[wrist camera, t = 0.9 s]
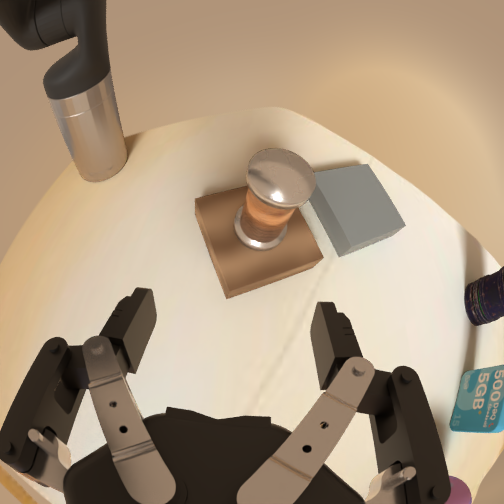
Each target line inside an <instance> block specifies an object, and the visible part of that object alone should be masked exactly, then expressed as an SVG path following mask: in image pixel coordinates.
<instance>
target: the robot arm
mask: <svg viewBox="0 0 504 504" xmlns="http://www.w3.org/2000/svg"><path fill="white" fill-rule="evenodd" d="M0 25H1V26H2V28H3V29H4V30H5V31H6V32H7V33H8V34H9V35H10V36H11V37H12V39H13V40H14V41H15V42H16V43H18V44H19V45H20V46H21V47H23V48H24V49H27V50H38V49H42V48H45V47H48V46H50V45H53V44H56V43H58V42H61V41H64V40H67V39H70V38H73V37H76V36H77V37H78V45H77V46H76V47H75V48H74V49H73V50H72V51H70V52H69V53H68V54H66V55H65V56H64V57H62V58H61V59H59V60H58V61H57V62H56V63H55V64H53V65H52V66H51V67H50V69H49V70H48V71H47V72H46V74H45V76H44V79H43V84H44V88H45V91H46V94H47V97H48V99H49V102H50V105H51V108H52V110H53V113H54V115H55V118H56V121H57V123H58V126H59V128H60V131H61V133H62V135H63V138H64V140H65V143H66V145H67V147H68V149H69V151H70V154H71V156H72V158H73V161H74V163H75V165H76V167H77V169H78V171H79V173H80V175H81V177H82V178H84V179H85V180H87V181H91V182H99V181H103V180H106V179H108V178H110V177H112V176H114V175H115V174H116V173H118V172H119V171H120V170H121V169H122V168H123V166H124V164H125V163H126V160H127V155H128V154H127V149H126V145H125V141H124V136H123V131H122V127H121V123H120V118H119V113H118V108H117V103H116V98H115V92H114V86H113V81H112V75H111V69H110V62H109V54H108V43H107V33H106V0H0ZM156 318H157V314H156V308H155V302H154V297H153V291H152V289H147V288H139V287H137V288H136V289H135V290H134V292H133V294H132V295H131V297H130V296H126V297H125V298H123V299H122V300H121V301H120V302H119V303H118V304H117V306H116V308H115V310H114V311H113V312H112V314H111V316H110V317H109V319H108V321H107V322H106V324H105V326H104V327H103V329H102V331H101V332H100V334H99V336H94V337H91V338H89V339H88V340H87V341H86V342H85V343H84V344H83V345H79V346H68V344H67V342H66V341H65V339H63V338H61V337H54V338H51V339H49V340H48V341H47V342H46V343H45V344H44V345H43V347H42V349H41V350H40V352H39V354H38V355H37V357H36V359H35V361H34V362H33V364H32V366H31V368H30V370H29V371H28V373H27V375H26V377H25V379H24V381H23V383H22V385H21V387H20V389H19V391H18V393H17V395H16V397H15V399H14V401H13V403H12V405H11V407H10V410H9V412H8V414H7V416H6V419H5V421H4V423H3V426H2V428H1V431H0V459H1V460H2V461H3V462H5V463H6V464H8V465H9V466H10V467H12V468H13V469H14V470H15V471H17V472H18V473H20V474H22V475H23V476H25V477H26V478H28V479H30V480H32V481H34V482H36V483H38V484H40V485H42V486H44V487H51V488H53V489H55V490H58V491H60V492H62V493H64V497H65V500H66V504H445V503H446V502H447V500H448V499H449V497H450V494H451V484H450V479H449V475H448V470H447V466H446V462H445V458H444V454H443V450H442V446H441V442H440V439H439V435H438V432H437V429H436V425H435V422H434V419H433V416H432V413H431V410H430V407H429V404H428V401H427V398H426V395H425V392H424V390H423V387H422V384H421V381H420V379H419V376H418V374H417V373H416V372H415V371H414V370H413V369H412V368H410V367H407V366H399V367H397V368H395V369H394V370H393V372H392V373H390V372H385V371H380V370H376V369H374V367H373V365H372V363H371V362H370V361H368V360H367V359H365V358H363V356H362V353H361V350H360V347H359V344H358V342H357V339H356V336H355V335H354V334H355V333H354V331H353V329H352V325H351V323H350V320H349V319H348V318H347V316H346V315H345V314H344V313H337V310H336V307H335V304H334V303H333V302H318V303H317V305H316V309H315V313H314V317H313V320H312V324H311V331H310V334H311V341H312V346H313V352H314V357H315V362H316V368H317V373H318V379H319V385H320V390H326V392H323V394H322V395H321V396H320V397H319V399H318V400H317V402H316V403H315V404H314V406H313V407H312V408H311V410H310V411H309V412H308V414H307V415H306V416H305V417H304V419H303V420H302V421H301V422H300V424H299V425H298V426H297V427H296V429H295V430H294V431H293V432H291V431H289V430H287V429H286V428H283V427H281V426H279V425H276V424H272V423H271V417H262V416H240V417H233V418H226V419H214V418H211V417H208V416H205V415H203V414H200V413H197V412H194V411H191V410H184V409H178V408H172V407H167V409H166V413H161V414H156V415H152V416H149V417H146V418H143V416H142V414H141V412H140V410H139V408H138V406H137V403H136V401H135V399H134V397H133V395H132V392H131V390H130V388H129V385H128V383H127V381H126V375H127V373H128V372H129V373H133V374H136V371H137V369H138V366H139V364H140V361H141V358H142V356H143V353H144V351H145V348H146V346H147V344H148V341H149V339H150V336H151V334H152V331H153V329H154V327H155V324H156ZM58 382H59V383H58ZM86 389H89V391H90V394H91V397H92V401H93V404H94V407H95V410H96V413H97V416H98V419H99V422H100V425H101V428H102V430H103V433H104V436H105V438H106V441H107V444H105V445H103V446H102V447H100V448H99V449H97V450H96V451H94V452H92V453H91V454H89V455H88V456H86V457H84V458H83V459H81V460H79V461H78V462H76V463H74V464H73V465H72V466H71V454H70V450H69V448H68V447H67V442H68V439H69V436H70V433H71V430H72V427H73V424H74V421H75V418H76V415H77V412H78V410H79V407H80V404H81V402H82V399H83V396H84V394H85V391H86ZM356 412H359V413H365V414H369V418H370V423H371V429H372V434H373V440H374V446H375V452H376V459H377V466H378V473H379V474H378V475H377V476H375V477H374V478H373V479H372V481H371V483H370V486H369V494H368V496H367V498H366V499H365V500H364V499H363V498H362V497H361V496H360V495H359V494H358V493H357V492H356V491H355V490H354V489H352V488H351V487H350V486H349V485H348V484H347V483H346V482H344V481H343V480H342V479H341V478H340V477H339V476H338V475H337V474H335V473H334V472H333V471H332V470H331V469H330V468H329V467H328V466H327V465H326V464H325V463H324V462H325V461H326V459H327V458H328V456H329V455H330V453H331V452H332V450H333V449H334V447H335V446H336V444H337V443H338V441H339V440H340V438H341V436H342V435H343V433H344V432H345V430H346V428H347V427H348V425H349V423H350V422H351V420H352V418H353V416H354V415H355V413H356Z"/></svg>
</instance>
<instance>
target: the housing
mask: <svg viewBox="0 0 504 504" xmlns="http://www.w3.org/2000/svg"><path fill="white" fill-rule="evenodd" d="M246 181H247V185H248V187H249V188H248V192H247V195H246V199H245V202H244V205H243V206H241V207H240V208H239V210H238V211H237V213H236V216H235V220H234V232H235V235H236V237H237V238H238V240H239V241H240V242H241V243H242V244H243V245H244V246H246V247H247V248H249V249H252V250H255V251H269V250H272V249H274V248H275V247H277V246H278V245H279V244H280V243H281V241H282V240H283V238H284V237H285V235H286V232H287V222H288V221H289V219H290V217H291V216H292V214H293V212H294V211H295V209H296V208H298V207H300V206H302V205H303V204H305V203H306V202H307V201H308V199H309V198H310V196H311V195H312V193H313V191H314V189H315V186H316V178H315V174H314V172H313V170H312V168H311V167H310V165H309V164H308V163H307V162H306V161H305V160H304V159H303V158H302V157H300V156H299V155H297V154H295V153H293V152H291V151H288V150H285V149H279V148H270V149H265V150H262V151H260V152H258V153H256V154H255V155H254V156H253V157H252V159H251V160H250V162H249V166H248V169H247V173H246Z"/></svg>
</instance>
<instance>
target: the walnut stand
mask: <svg viewBox="0 0 504 504" xmlns="http://www.w3.org/2000/svg"><path fill="white" fill-rule="evenodd" d="M248 188H249V187H248V186H245V187H241V188H236V189H232V190H228V191H224V192H219V193H215V194H211V195H207V196H204V197H200V198H196V199H195V215H196V218H197V221H198V224H199V227H200V229H201V232H202V235H203V238H204V240H205V243H206V246H207V249H208V251H209V254H210V257H211V260H212V262H213V265H214V268H215V270H216V273H217V276H218V278H219V281H220V284H221V286H222V289H223V291H224V294H225V296H226V299H228V298H231V297H234V296H237V295H240V294H243V293H246V292H248V291H251V290H254V289H257V288H260V287H262V286H265V285H268V284H271V283H273V282H276V281H279V280H282V279H284V278H287V277H290V276H292V275H295V274H298V273H300V272H303V271H306V270H308V269H311V268H313V267H314V266H315V265H316V264H317V263H318V262H319V261H320V260H322V259H323V258H324V257H323V255H322V253H321V251H320V249H319V247H318V245H317V243H316V241H315V239H314V237H313V235H312V233H311V231H310V229H309V227H308V225H307V223H306V221H305V219H304V218H303V216H302V214H301V212H300V210H299V208H296V209H295V211H294V212H293V214H292V216H291V217H290V219H289V221H288V222H287V232H286V235H285V237H284V238H283V240H282V241H281V243H280V244H279V245H278V246H277V247H275V248H274V249H272V250H269V251H255V250H252V249H249V248H247V247H246V246H244V245H243V244H242V243H241V242H240V241H239V240H238V238H237V237H236V235H235V232H234V220H235V216H236V213H237V211H238V210H239V208H240V207H241V206H243V205H244V202H245V199H246V195H247V192H248Z"/></svg>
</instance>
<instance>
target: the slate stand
mask: <svg viewBox="0 0 504 504" xmlns="http://www.w3.org/2000/svg"><path fill="white" fill-rule="evenodd" d="M314 174H315V178H316V186H315V189H314V191H313V193H312V195H311V196H310V198H309V201H310V203H311V205H312V206H313V208H314V210H315V212H316V214H317V216H318V217H319V219H320V221H321V223H322V225H323V227H324V229H325V231H326V233H327V235H328V236H329V238H330V240H331V242H332V244H333V246H334V248H335V250H336V252H337V254H338V256H339V257H342V256H344V255H347V254H349V253H352V252H354V251H357V250H359V249H362V248H364V247H367V246H369V245H371V244H374V243H376V242H379V241H381V240H384V239H386V238H388V237H391V236H393V235H394V234H395V233H397V232H398V231H399V230H401V229H402V228H403V227H404V226H406V225H405V223H404V221H403V220H402V218H401V216H400V214H399V213H398V211H397V209H396V207H395V206H394V204H393V202H392V201H391V199H390V197H389V196H388V194H387V193H386V191H385V189H384V188H383V186H382V185H381V183H380V182H379V180H378V179H377V177H376V175H375V174H374V172H373V171H372V170H371V168H370V167H369V165H368V164H363V165H356V166H350V167H343V168H337V169H331V170H325V171H319V172H314Z"/></svg>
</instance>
